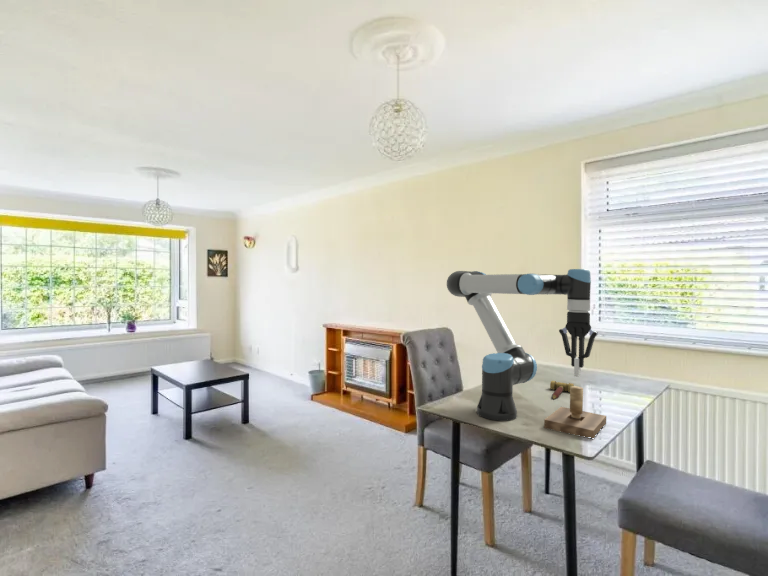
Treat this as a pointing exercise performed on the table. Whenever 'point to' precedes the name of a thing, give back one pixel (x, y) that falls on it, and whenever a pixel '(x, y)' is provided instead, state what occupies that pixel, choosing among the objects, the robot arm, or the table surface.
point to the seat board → (575, 422)
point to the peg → (576, 402)
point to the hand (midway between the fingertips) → (577, 375)
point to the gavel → (559, 388)
